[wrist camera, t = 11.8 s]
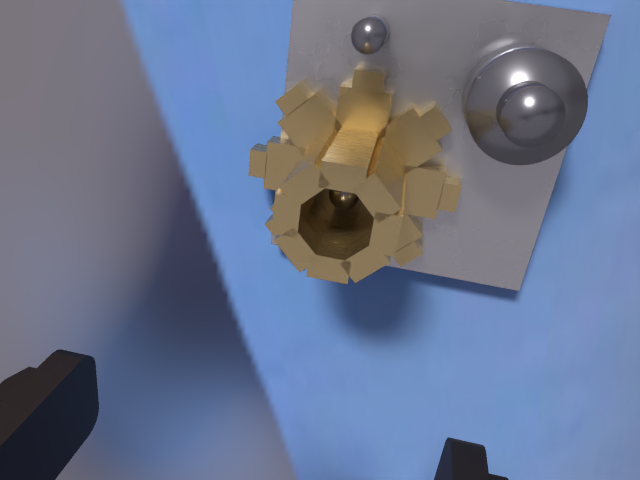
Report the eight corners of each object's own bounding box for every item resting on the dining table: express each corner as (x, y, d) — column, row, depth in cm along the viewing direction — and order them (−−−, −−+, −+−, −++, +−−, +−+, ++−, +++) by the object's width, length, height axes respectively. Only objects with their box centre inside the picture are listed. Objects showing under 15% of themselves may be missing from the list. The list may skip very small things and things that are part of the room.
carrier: (602, 14, 24) (652, 20, 19) (515, 280, 30) (535, 339, 25) (300, -27, 26) (270, -33, 20) (275, 235, 32) (247, 282, 26)
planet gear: (483, 85, 25) (504, 116, 19) (434, 280, 30) (437, 357, 24) (263, 51, 26) (214, 70, 20) (249, 245, 31) (205, 309, 25)
